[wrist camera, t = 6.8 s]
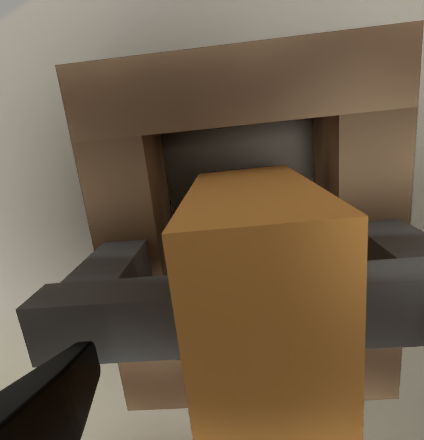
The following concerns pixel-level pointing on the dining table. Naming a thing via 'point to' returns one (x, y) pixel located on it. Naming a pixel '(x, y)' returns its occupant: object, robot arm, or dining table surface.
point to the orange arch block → (269, 306)
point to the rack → (219, 118)
